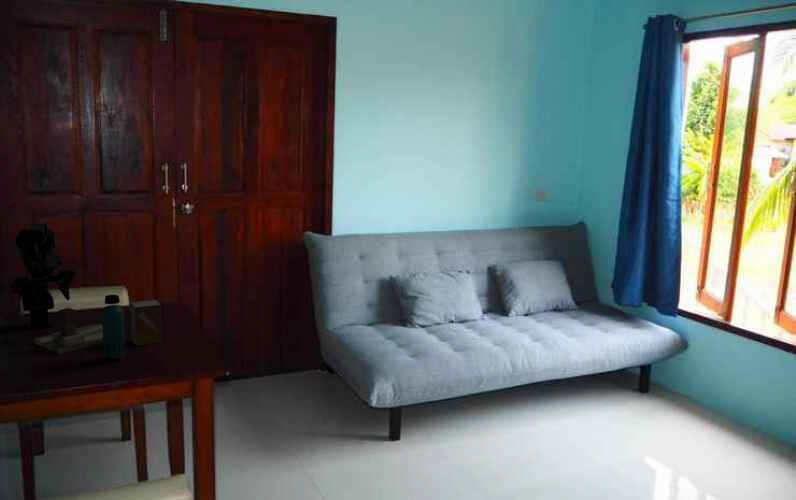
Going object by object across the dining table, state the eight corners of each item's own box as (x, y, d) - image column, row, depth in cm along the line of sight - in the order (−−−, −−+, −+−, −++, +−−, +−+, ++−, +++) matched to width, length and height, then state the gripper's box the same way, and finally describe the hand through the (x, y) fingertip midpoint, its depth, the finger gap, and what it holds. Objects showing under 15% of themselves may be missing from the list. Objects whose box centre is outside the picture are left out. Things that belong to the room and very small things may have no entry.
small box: (136, 346, 222) (134, 307, 219) (131, 340, 227) (129, 302, 225) (161, 342, 226) (160, 304, 224) (156, 337, 232) (155, 299, 229)
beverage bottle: (112, 365, 206) (109, 299, 202) (98, 360, 209) (95, 295, 205) (131, 359, 211) (128, 295, 207) (117, 354, 214) (114, 291, 211)
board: (33, 343, 221) (33, 338, 221) (97, 327, 239) (97, 323, 239) (59, 354, 213) (59, 349, 212) (123, 337, 230) (123, 332, 230)
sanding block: (52, 342, 218) (50, 309, 216) (70, 337, 223) (68, 305, 221) (66, 348, 214) (64, 314, 212) (84, 343, 219) (82, 310, 216)
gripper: (12, 252, 212) (33, 294, 208) (70, 244, 227) (91, 283, 223) (1, 273, 218) (21, 314, 214) (59, 264, 233) (79, 302, 229)
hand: (54, 302), depth 220 cm, fingers open, 9 cm apart
